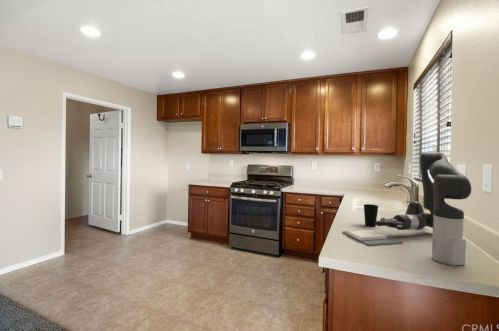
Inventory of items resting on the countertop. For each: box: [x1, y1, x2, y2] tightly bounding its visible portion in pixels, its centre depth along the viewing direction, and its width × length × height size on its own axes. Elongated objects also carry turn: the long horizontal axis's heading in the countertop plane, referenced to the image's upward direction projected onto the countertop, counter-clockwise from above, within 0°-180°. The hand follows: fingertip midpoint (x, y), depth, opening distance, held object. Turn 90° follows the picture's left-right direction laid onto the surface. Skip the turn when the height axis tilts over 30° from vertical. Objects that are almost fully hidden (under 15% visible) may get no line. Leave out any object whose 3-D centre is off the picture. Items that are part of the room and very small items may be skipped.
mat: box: [341, 229, 403, 247], centre depth 124 cm, size 20×18×1 cm
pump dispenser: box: [404, 200, 425, 215], centre depth 146 cm, size 10×10×15 cm
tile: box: [347, 229, 388, 240], centre depth 124 cm, size 10×2×14 cm
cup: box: [363, 203, 379, 228], centre depth 147 cm, size 8×8×12 cm
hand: (376, 223), depth 125 cm, fingers closed
